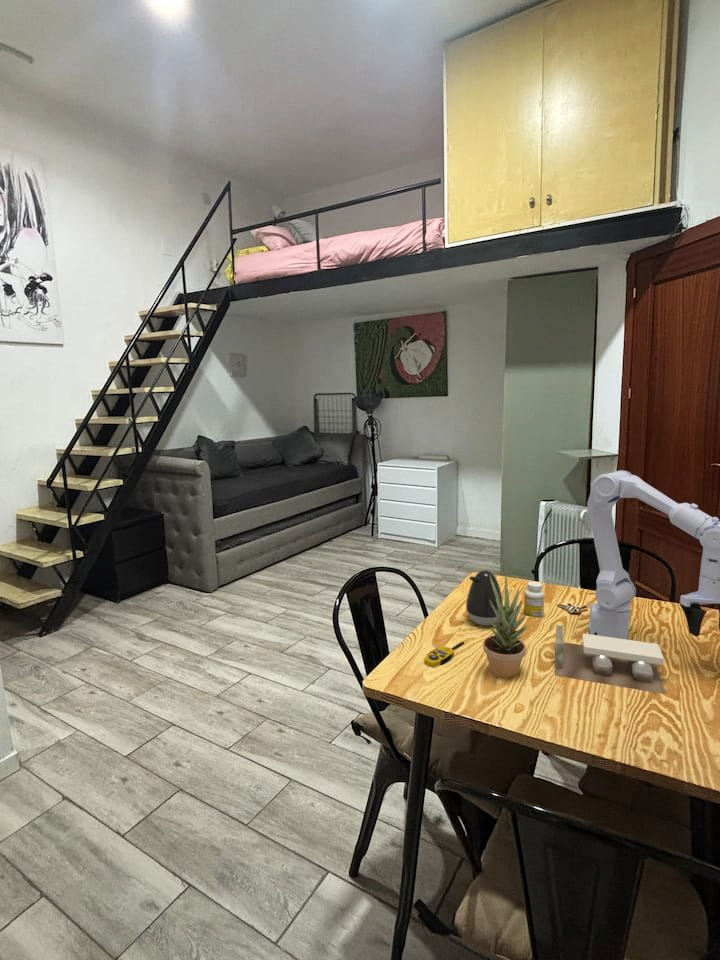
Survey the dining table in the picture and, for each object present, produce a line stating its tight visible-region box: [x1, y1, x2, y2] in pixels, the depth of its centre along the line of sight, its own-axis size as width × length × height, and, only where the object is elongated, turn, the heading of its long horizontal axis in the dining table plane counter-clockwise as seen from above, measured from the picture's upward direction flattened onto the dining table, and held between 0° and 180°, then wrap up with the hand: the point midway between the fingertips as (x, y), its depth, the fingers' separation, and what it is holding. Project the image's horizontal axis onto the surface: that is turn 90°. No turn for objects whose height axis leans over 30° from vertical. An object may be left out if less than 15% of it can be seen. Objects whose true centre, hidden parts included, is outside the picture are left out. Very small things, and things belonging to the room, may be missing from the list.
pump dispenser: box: [465, 569, 504, 627], centre depth 144 cm, size 10×10×15 cm
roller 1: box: [592, 654, 613, 675], centre depth 120 cm, size 4×10×4 cm, turn 159°
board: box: [554, 624, 667, 695], centre depth 119 cm, size 22×17×7 cm
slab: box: [581, 633, 665, 666], centre depth 118 cm, size 16×7×2 cm, turn 69°
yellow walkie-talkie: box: [423, 641, 465, 668], centre depth 128 cm, size 5×2×15 cm
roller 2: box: [629, 660, 653, 682], centre depth 117 cm, size 4×10×4 cm, turn 159°
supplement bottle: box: [523, 580, 545, 619], centre depth 148 cm, size 5×5×10 cm
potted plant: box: [482, 574, 529, 679], centre depth 117 cm, size 10×10×25 cm
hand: (709, 633), depth 116 cm, fingers open, 7 cm apart
